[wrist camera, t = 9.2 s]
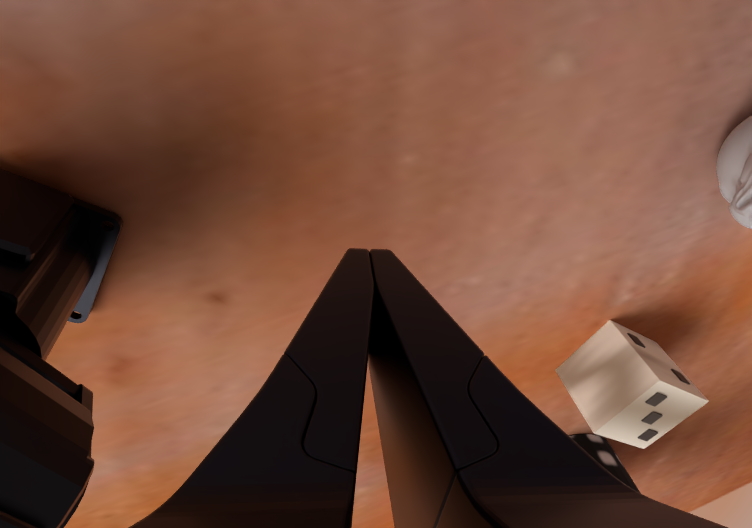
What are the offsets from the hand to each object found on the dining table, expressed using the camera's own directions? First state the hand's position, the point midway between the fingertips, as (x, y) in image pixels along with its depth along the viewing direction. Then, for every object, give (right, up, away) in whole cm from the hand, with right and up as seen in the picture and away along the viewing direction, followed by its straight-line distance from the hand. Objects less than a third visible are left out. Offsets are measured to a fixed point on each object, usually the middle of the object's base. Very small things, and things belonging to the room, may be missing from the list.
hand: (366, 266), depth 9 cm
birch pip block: (+16, -6, +22) cm, 28 cm away
